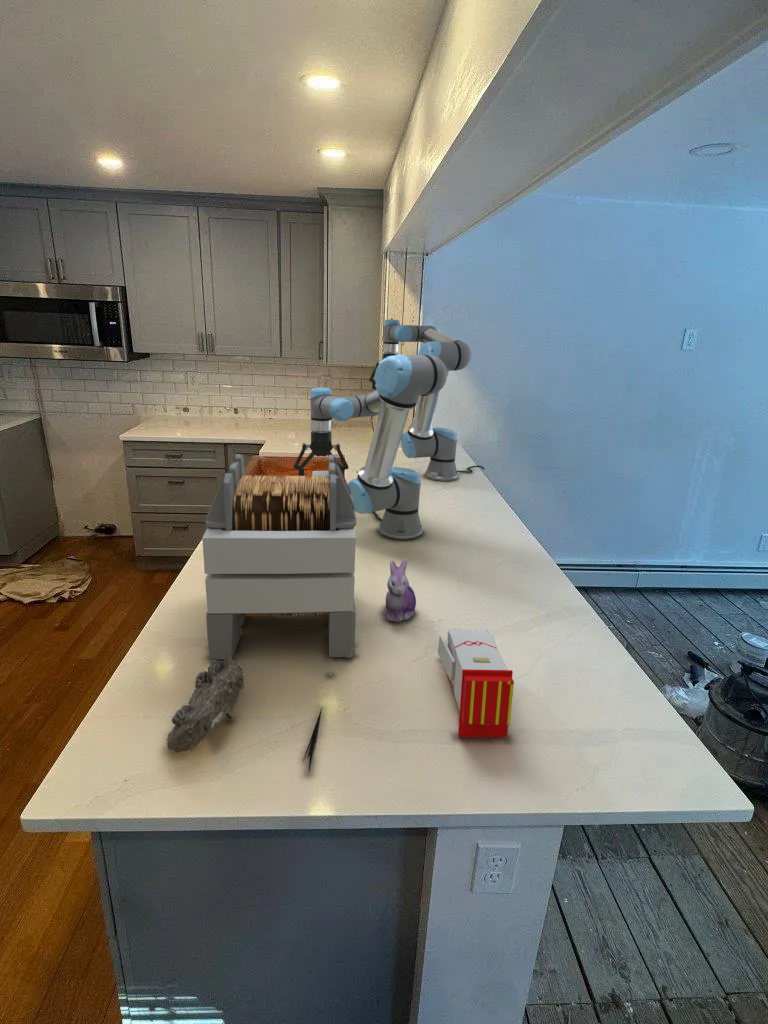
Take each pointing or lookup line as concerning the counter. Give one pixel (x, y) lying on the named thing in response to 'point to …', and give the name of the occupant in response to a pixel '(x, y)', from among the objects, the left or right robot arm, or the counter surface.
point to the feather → (313, 740)
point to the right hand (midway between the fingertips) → (388, 396)
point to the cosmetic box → (320, 473)
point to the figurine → (399, 594)
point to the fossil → (206, 705)
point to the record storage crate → (280, 554)
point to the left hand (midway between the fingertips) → (321, 486)
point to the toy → (478, 682)
